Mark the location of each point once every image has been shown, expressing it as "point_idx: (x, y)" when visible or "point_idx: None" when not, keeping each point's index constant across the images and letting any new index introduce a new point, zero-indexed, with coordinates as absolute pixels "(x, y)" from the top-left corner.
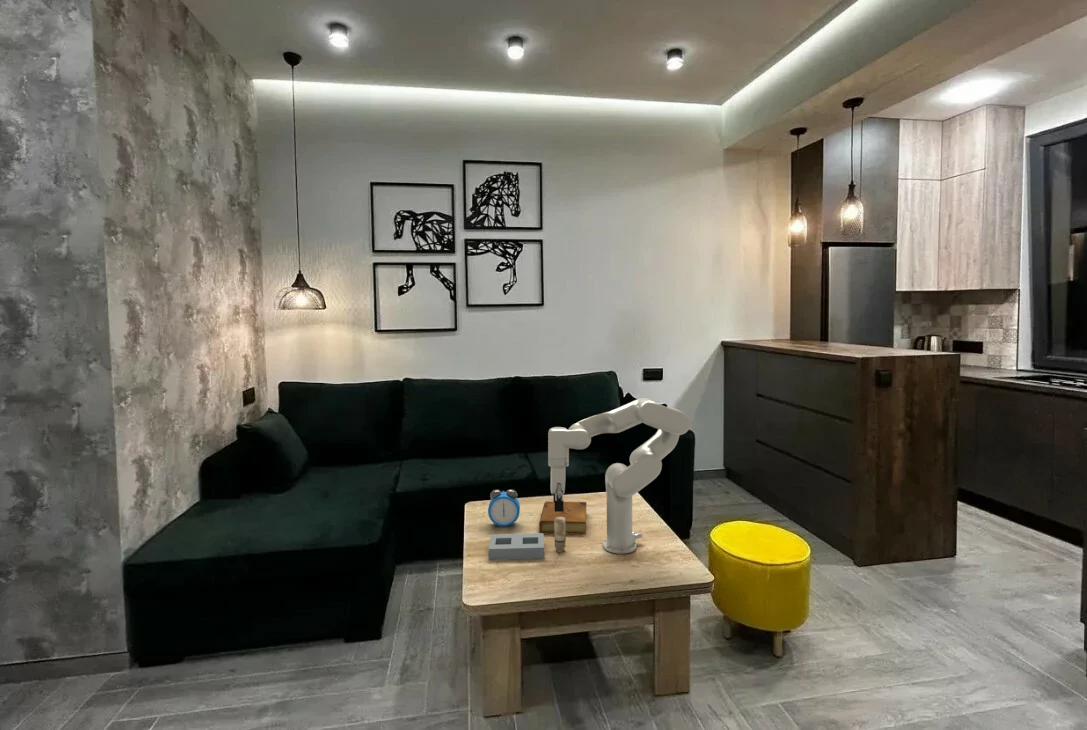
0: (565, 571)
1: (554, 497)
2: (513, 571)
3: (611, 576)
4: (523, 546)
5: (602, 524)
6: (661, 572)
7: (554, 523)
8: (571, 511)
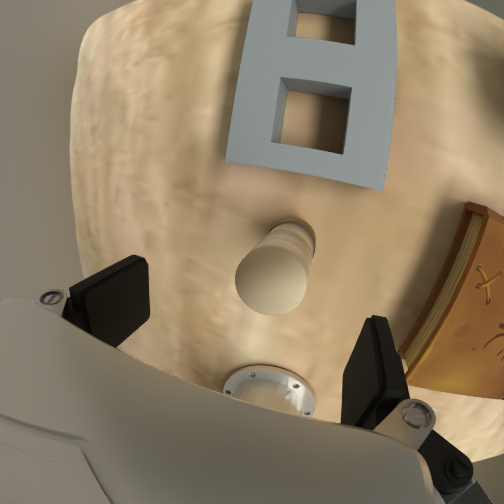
0: (148, 214)
1: (370, 350)
2: (174, 66)
3: None
4: (253, 79)
5: None
6: None
7: (276, 241)
8: (499, 355)
